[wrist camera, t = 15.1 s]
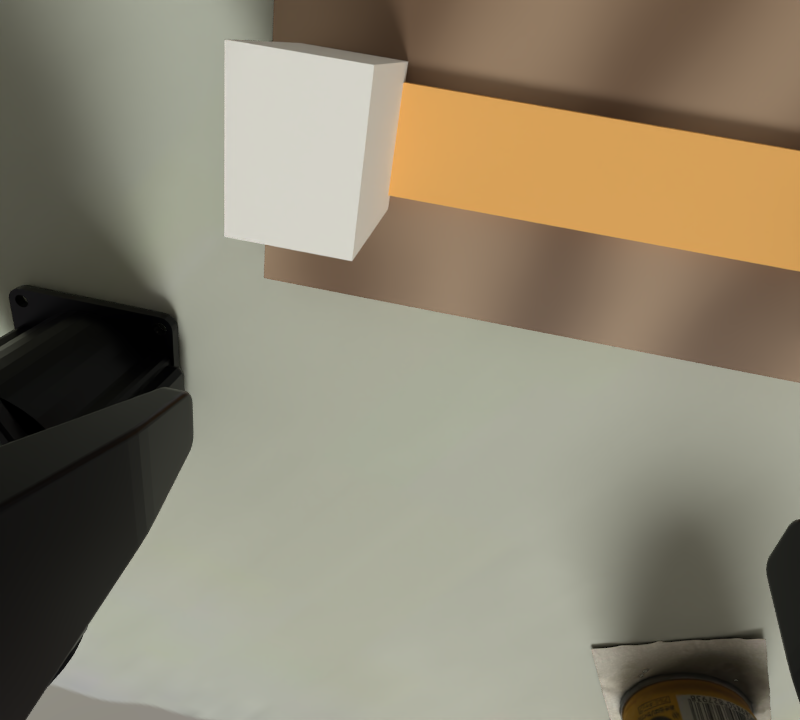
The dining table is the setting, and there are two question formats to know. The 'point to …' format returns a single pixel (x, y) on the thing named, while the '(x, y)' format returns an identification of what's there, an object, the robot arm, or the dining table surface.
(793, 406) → the dining table surface
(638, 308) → the board
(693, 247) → the bolt
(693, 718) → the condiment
